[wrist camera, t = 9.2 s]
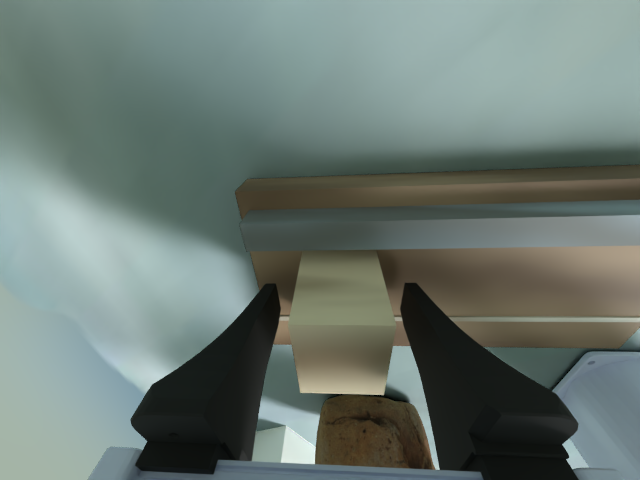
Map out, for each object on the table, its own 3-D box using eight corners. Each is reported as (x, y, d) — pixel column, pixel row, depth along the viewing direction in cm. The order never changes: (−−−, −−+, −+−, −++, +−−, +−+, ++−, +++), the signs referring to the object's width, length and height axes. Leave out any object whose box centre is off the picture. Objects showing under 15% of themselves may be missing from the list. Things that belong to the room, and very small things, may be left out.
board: (591, 324, 18) (643, 370, 15) (278, 322, 20) (268, 363, 17) (727, 161, 12) (861, 185, 9) (247, 179, 13) (222, 204, 10)
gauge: (366, 349, 18) (377, 430, 13) (313, 348, 18) (306, 428, 14) (375, 248, 13) (396, 325, 9) (302, 249, 13) (288, 324, 9)
